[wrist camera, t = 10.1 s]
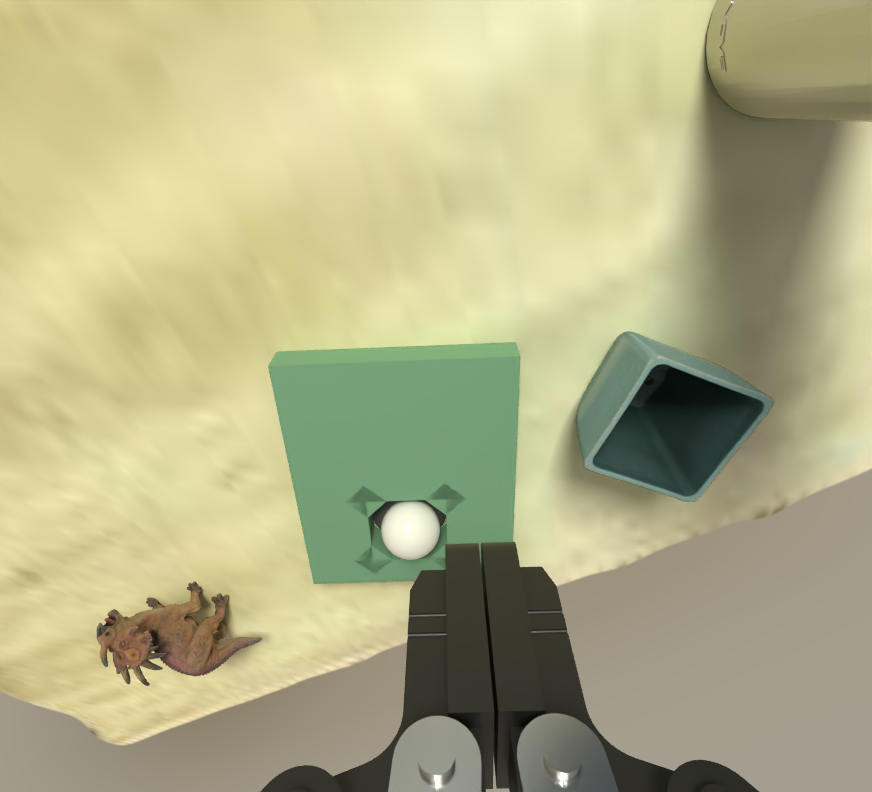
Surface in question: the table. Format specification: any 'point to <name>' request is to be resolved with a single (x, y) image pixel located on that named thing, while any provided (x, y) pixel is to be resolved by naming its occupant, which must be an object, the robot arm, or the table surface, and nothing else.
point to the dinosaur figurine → (169, 638)
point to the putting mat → (398, 449)
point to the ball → (410, 529)
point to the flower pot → (664, 417)
